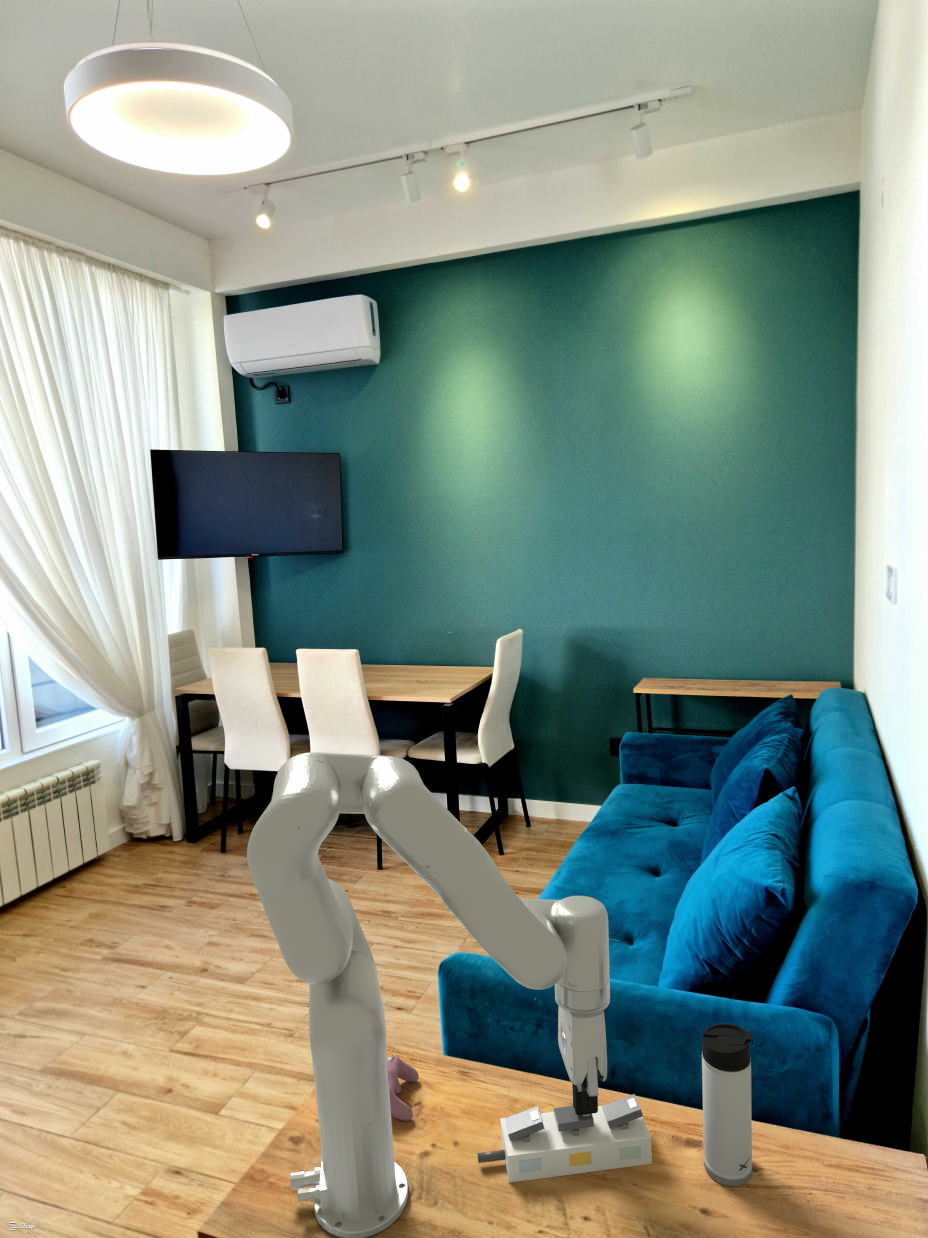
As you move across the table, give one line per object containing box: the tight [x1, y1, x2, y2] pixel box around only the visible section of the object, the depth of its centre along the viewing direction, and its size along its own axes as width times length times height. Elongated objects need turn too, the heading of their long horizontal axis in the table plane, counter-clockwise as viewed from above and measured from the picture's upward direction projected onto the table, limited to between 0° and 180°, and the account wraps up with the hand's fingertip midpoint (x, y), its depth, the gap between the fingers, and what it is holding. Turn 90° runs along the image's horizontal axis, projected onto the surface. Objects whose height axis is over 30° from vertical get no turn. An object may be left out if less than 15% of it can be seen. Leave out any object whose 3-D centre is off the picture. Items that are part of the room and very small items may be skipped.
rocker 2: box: [601, 1093, 644, 1129], centre depth 115 cm, size 5×3×1 cm, turn 95°
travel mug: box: [701, 1023, 754, 1187], centre depth 109 cm, size 6×7×20 cm
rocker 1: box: [504, 1105, 545, 1141], centre depth 114 cm, size 5×3×1 cm, turn 95°
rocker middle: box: [553, 1105, 594, 1132], centre depth 114 cm, size 5×3×1 cm, turn 96°
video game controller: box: [387, 1055, 420, 1121], centre depth 127 cm, size 10×5×7 cm, turn 177°
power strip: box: [476, 1104, 653, 1184], centre depth 114 cm, size 24×7×5 cm, turn 96°
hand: (585, 1110), depth 114 cm, fingers closed
